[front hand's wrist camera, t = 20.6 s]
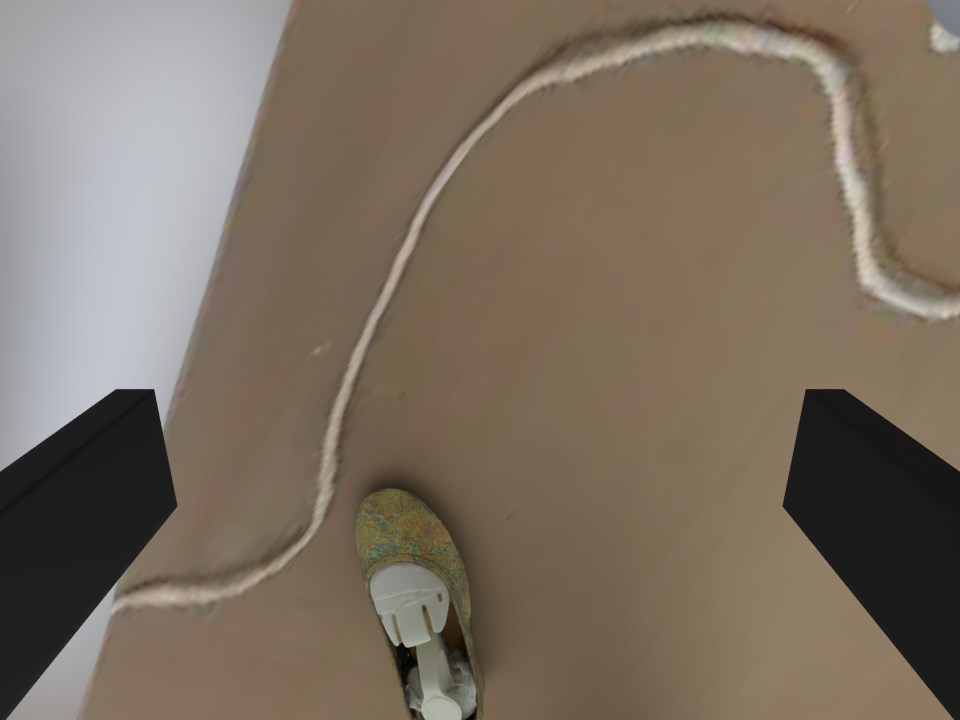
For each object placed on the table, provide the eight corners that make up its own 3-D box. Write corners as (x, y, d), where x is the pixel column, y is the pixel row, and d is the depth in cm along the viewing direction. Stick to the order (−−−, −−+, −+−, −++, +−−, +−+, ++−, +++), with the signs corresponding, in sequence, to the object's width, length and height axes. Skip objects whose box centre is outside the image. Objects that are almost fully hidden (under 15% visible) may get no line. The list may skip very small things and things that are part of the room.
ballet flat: (442, 469, 50) (436, 529, 43) (503, 690, 58) (507, 772, 51) (343, 488, 51) (319, 550, 43) (417, 704, 59) (408, 787, 51)
